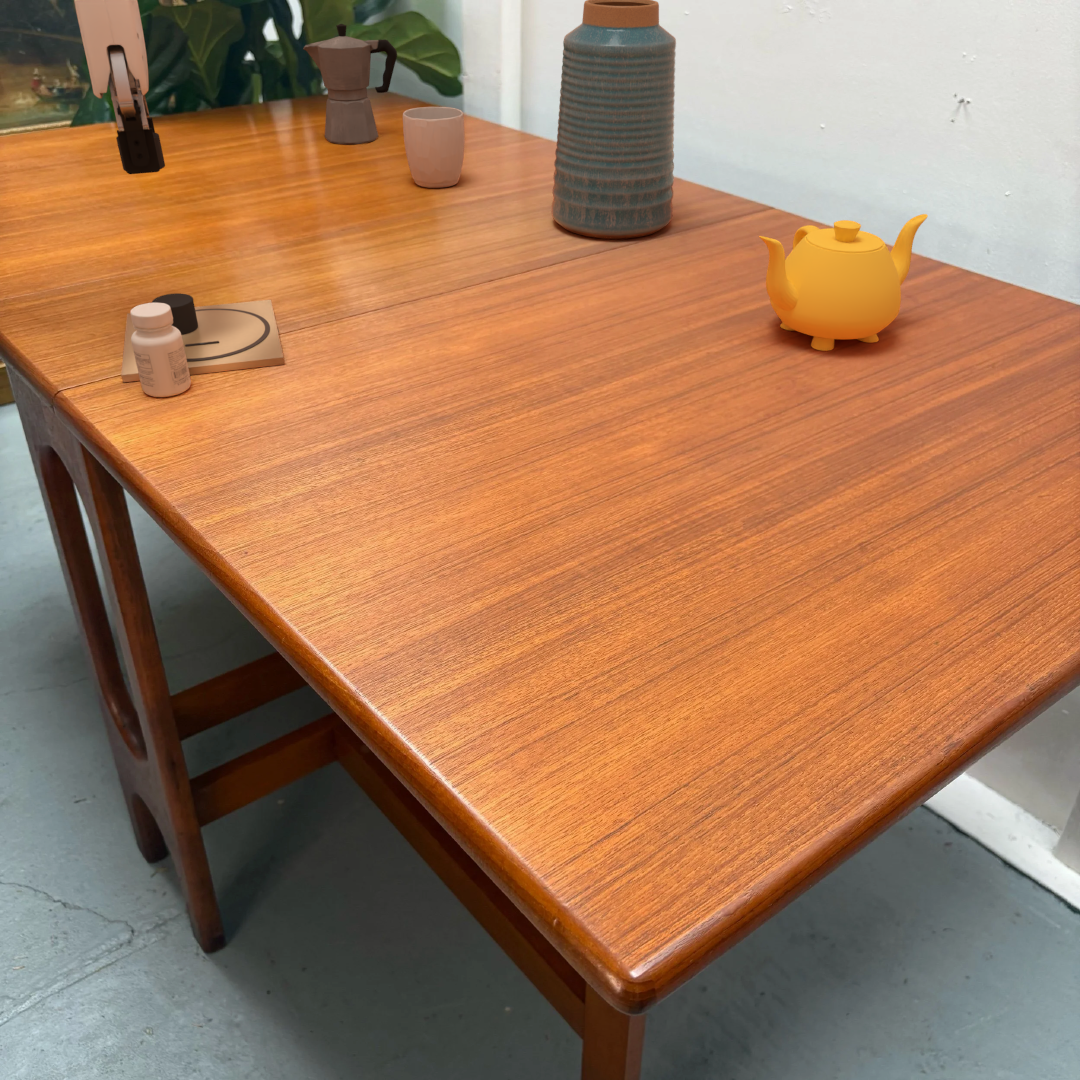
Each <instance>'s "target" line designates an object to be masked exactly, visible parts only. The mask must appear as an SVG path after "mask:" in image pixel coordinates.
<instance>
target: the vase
mask: <svg viewBox="0 0 1080 1080" xmlns="http://www.w3.org/2000/svg"><path fill="white" fill-rule="evenodd" d="M581 21H582V22H581V23H580V24H579V25H578V26H576V27H574V29H572V30H571V31H570V32H568V33H567V34H566V35H564V37H563V42H562V44H563V45H562V47H563V50H562V66H561V77H560V79H561V82H560V91H559V94H560V95H559V107H558V120H557V135H556V139H557V140H556V148H555V153H554V154H555V159H554V163H553V165H554V172H553V185H552V197H553V199H552V203H551V212H550V213H551V217H552V219H553V220H554V221H555V222H556V223H557V224H558V225H559V226H561V227H562V228H563V229H565V230H566V231H568V232H571V233H574V234H576V235H579V236H585V237H589V238H595V239H607V240H608V239H609V240H623V239H624V240H625V239H634V238H640V237H645V236H649V235H652V234H655V233H657V232H659V231H661V230H662V229H663V228H665V227H666V226H667V225H669V224H670V222H671V221H672V220H673V216H674V214H673V213H674V206H673V199H674V188H673V185H674V182H675V177H674V170H675V162H674V158H675V153H674V148H675V145H674V140H675V137H674V135H675V103H676V100H675V95H676V91H675V90H676V89H675V87H676V82H675V81H676V55H677V53H676V49H677V40H676V37H675V36H674V35H672V33H670V32H669V31H668V30H666V29H665V28H664V27H663V26H662V25H660V3H659V2H658V1H656V0H585V1H584V2H583V10H582V20H581Z"/></svg>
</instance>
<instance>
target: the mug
mask: <svg viewBox="0 0 1080 1080" xmlns="http://www.w3.org/2000/svg"><path fill="white" fill-rule="evenodd" d="M402 129H403V131H402V132H403V142H404V143H403V144H404V149H405V155H406V160H407V165H408V168H409V171H410V175H411V177H412V179H413V181H414V183H415V184H416V185H417V186H419V187H422V188H428V189H439V188H440V189H441V188H448V187H452V186H455V185H457V184H458V183H459V180H460V178H461V174H462V171H463V164H464V158H465V142H466V141H465V140H466V138H465V136H466V135H465V117H464V112H463V111H462V110H461V109H458V108H456V107H450V106H423V107H413V108H410V109H406V110H405V111H403V112H402Z"/></svg>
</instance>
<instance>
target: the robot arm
mask: <svg viewBox="0 0 1080 1080" xmlns="http://www.w3.org/2000/svg"><path fill="white" fill-rule="evenodd" d="M73 1H74V7H75V12H76V17H77V22H78V26H79V31H80V35H81V41H82V44H83V48H84V49H83V50H84V53H85V58H86V63H87V68H88V72H89V73H88V74H89V77H90V83H91V87H92V93H93V95H94V96H95V97H96V98H98V99H103V97H104V94H106V93H108V87H109V92H110V98H111V101H112V106H113V110H114V116H115V121H116V125H117V130H116V134H117V137H118V139H119V143H120V147H121V152H122V156H123V161H124V165H125V169H126V171H125V172H126V173H127V174H128V175H139V174H150V173H151V174H152V173H158V172H160V171H161V169H160V164H159V159H158V154H157V149H156V144H155V140H154V135H153V132H154V133H156V129H155V126H154V120H153V117H150V112H149V107H148V102H147V98H146V94H147V93H148V92H149V87H150V85H149V83H150V82H149V66H148V56H147V49H146V42H145V35H144V30H143V24H142V19H141V13H140V7H139V2H138V0H73Z"/></svg>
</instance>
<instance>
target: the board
mask: <svg viewBox="0 0 1080 1080" xmlns="http://www.w3.org/2000/svg"><path fill="white" fill-rule="evenodd" d="M195 311H196V316H197V322H198V328H197V329H196V330H195V331H193V332H191V333H188V334H184V335H182V340H183V345H184V350H185V354H186V359H187V364H188V369H189V374H190V376H194V375H203V374H211V373H220V372H230V371H237V370H247V369H256V368H264V367H273V366H282V365H285V364H286V363H285V357H284V353H283V347H282V344H281V339H280V334H279V329H278V325H277V320H276V316H275V312H274V306H273V302H272V299H263V300H262V299H261V300H252V301H241V302H232V303H221V304H212V305H201V306H195ZM135 331H136V329H135V328H134V327H133V323H132V318H131V313H130V312H129V313H128V312H127V313H126V321H125V332H124V343H123V353H122V361H121V371H120V377H121V380H122V383H133V382H140V377H139V373H138V369H137V365H136V360H135V356H134V351H133V347H132V343H131V337H132V334H133V333H134V332H135Z"/></svg>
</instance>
